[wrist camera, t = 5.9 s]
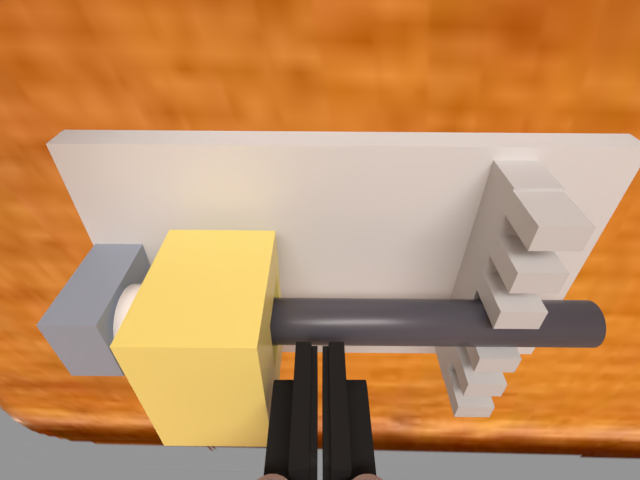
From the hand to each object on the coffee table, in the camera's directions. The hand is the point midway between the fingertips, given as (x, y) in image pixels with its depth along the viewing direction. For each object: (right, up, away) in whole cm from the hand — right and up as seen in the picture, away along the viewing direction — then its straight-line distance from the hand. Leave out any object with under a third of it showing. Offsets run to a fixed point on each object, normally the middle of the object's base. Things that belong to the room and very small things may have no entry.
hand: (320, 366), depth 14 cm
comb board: (+1, +4, +5) cm, 6 cm away
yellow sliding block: (-4, +2, +3) cm, 5 cm away
